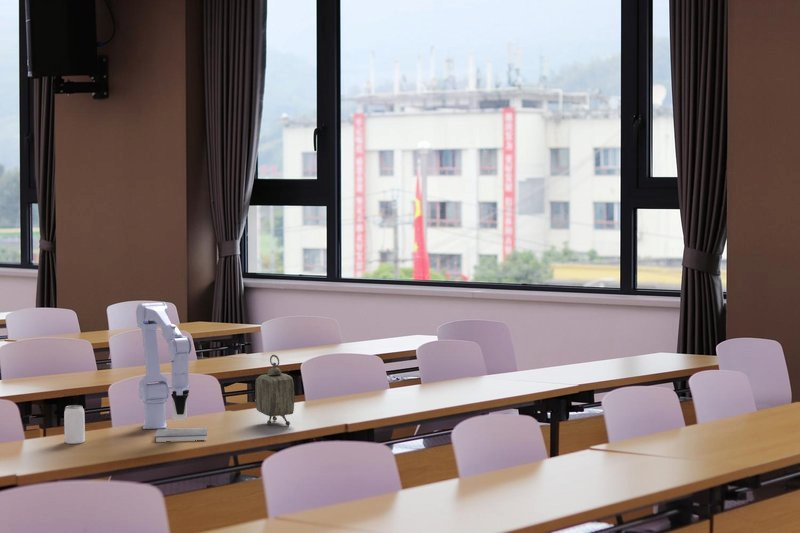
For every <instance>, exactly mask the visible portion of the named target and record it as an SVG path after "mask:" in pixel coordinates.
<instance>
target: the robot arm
mask: <svg viewBox="0 0 800 533" xmlns="http://www.w3.org/2000/svg"><path fill="white" fill-rule="evenodd" d="M168 315H169V308H168V305H167V303H166V302H165V301H161V302H151V303H150V302H148V303H142V302H141V303H138V305H137V307H136V310H135V316H136V318H135V319H136V323H137V327H138V328H140V329H141V334H142V335H141V336H142V345H143V346H142V347H143V354H144V355H143V357H144V363H145V364H144V365H145V376H143V377H142V378H141V379H140V380H139V383H138V386H139V388H138V396H139V399H140V400H141V402H142V403H143V404H144V407H143V409H144V410H143V411H144V413H143V415H144V423H143V426H142V429H143V430H146V429H147V430H149V429H153V430H154V429H167V425H168V421H166V402H167V401H168V399H169V398H170V397H171V398H172V401H173V400H174V403H175V407H176V412H177V415H182V414H184V409H185V403H186V401H187V399H188V397H189V393H190V390H189V389H190V385H189V384H190V382H189V381H190V377H189V376H190V375H189V373H190V371H189V363H190V362H189V355H190V353H191V352H192V342H191V339H190V337H189V336H186V335H183V334H182V332H181V331H180V329H179V327H178V326H177V325H176V324H173V323H172V322H171V320H170V318H169V316H168ZM158 328H160V329H161V330H162V331H161V335H162V337H163V339H164V340H165V341H166V344H167V349H168V355H169V360H170V361H171V364H170V365H171V366H170V367H171V371H170V372H171V385H169V381H168V378H167V376H164V375H163V374H162V373H161V368H160V367H161V366H160V357H159V355H160V354H159V347H158V336H157V329H158ZM171 390H172V393H171ZM170 395H171V396H170Z"/></svg>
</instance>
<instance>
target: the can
mask: <svg viewBox="0 0 800 533" xmlns="http://www.w3.org/2000/svg"><path fill="white" fill-rule="evenodd" d="M63 416H64V419H63V421H64V422H63V424H64V427H63V428H64V443H65V444H67V445H79V444H84V443H85V441H86V438H85V437H86V429H85V428H86V427H85V426H86V425H85V424H86V423H85V422H86V421H85V409H84V408H83V405H80V404H79V405H78V404H73V405H67V406H65V409H64V414H63Z"/></svg>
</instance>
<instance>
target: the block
mask: <svg viewBox="0 0 800 533" xmlns="http://www.w3.org/2000/svg"><path fill="white" fill-rule="evenodd" d="M171 402H172V420H176V421H177V420H187V416H188V414H187V412H188V410H187V408H188V406H187V404H188V403H187V400H186V403H185V409H184V414H182V415H177V412H176V407H175V403H174V400H173V399H172V401H171Z"/></svg>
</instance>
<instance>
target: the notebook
mask: <svg viewBox="0 0 800 533" xmlns="http://www.w3.org/2000/svg"><path fill="white" fill-rule="evenodd" d="M156 429H157V430H156V432H155V435H154V439H155V443H162V442H164V443H165V442H166V441H171V442H198V441H197V440H204V441H207V436H208V427H190V428H189V427H188V428H187V427H186V428H184V427H183V428H182V427H181V428H156ZM195 440H196V441H195Z"/></svg>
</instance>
